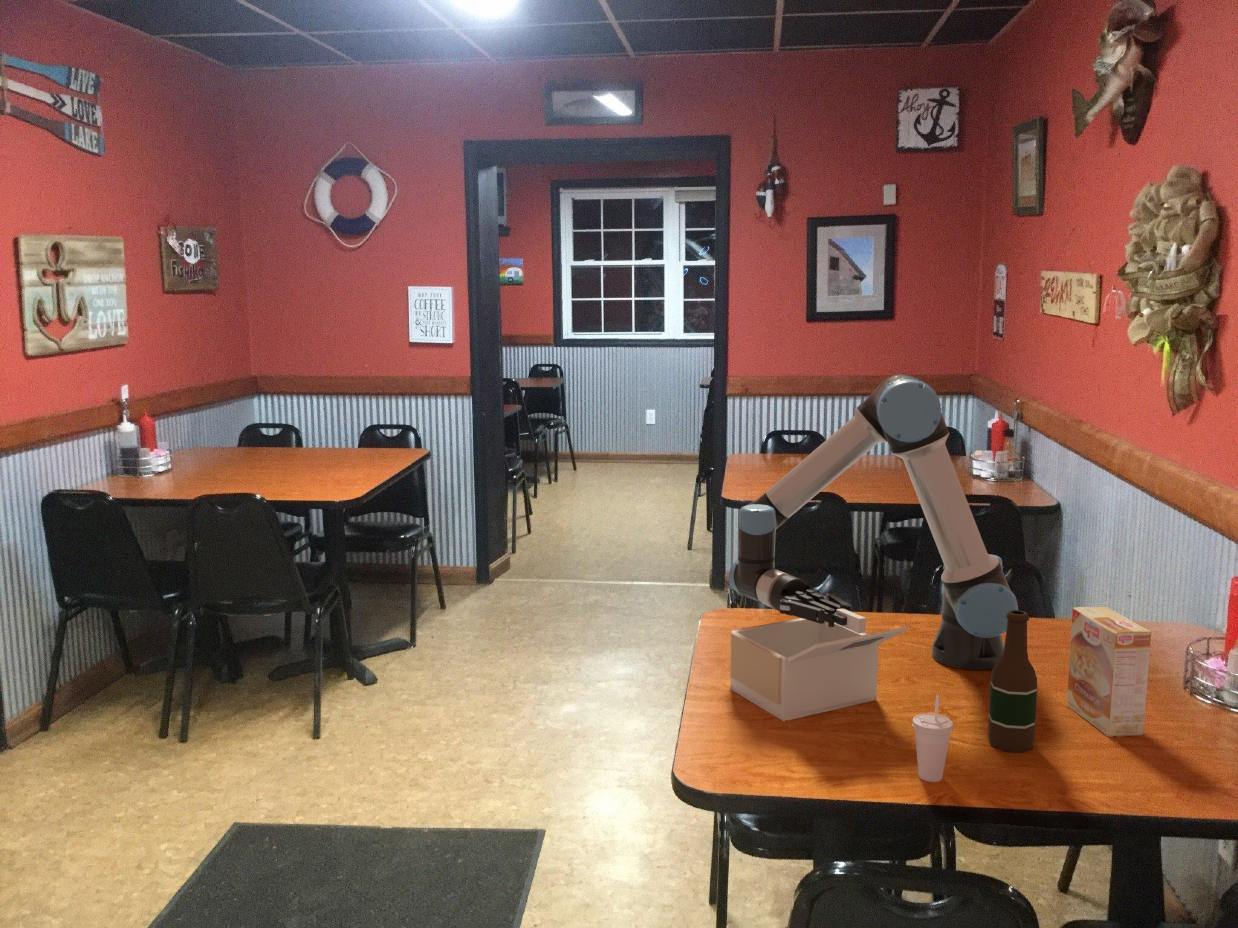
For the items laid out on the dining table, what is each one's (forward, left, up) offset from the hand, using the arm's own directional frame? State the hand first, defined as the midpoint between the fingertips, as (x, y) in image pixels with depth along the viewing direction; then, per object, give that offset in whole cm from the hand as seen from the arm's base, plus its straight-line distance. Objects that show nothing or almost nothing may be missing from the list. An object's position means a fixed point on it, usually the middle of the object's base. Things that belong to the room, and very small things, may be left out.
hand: (862, 625), depth 192 cm
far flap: (+3, -2, -4) cm, 6 cm away
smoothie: (-17, +13, -19) cm, 29 cm away
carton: (+15, -9, -19) cm, 26 cm away
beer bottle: (-25, -7, -19) cm, 32 cm away
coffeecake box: (-37, -27, -19) cm, 50 cm away
